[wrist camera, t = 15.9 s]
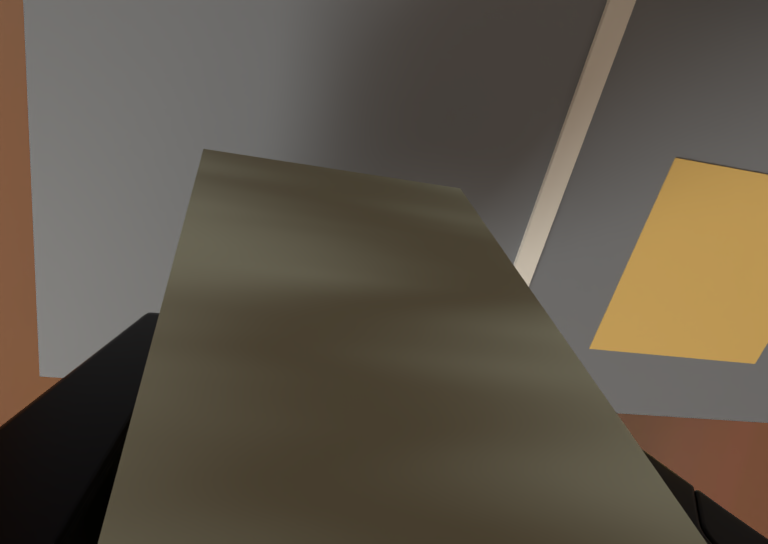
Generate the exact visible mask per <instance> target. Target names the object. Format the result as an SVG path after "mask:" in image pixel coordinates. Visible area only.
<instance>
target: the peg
mask: <svg viewBox="0 0 768 544" xmlns="http://www.w3.org/2000/svg"><path fill="white" fill-rule="evenodd" d="M98 544H707V543H706V541H705V540H704V538H703V537H702V535H701V534H700V532H699V531H698V530H697V528H696V527H695V525H694V524H693V522H692V521H691V520H690V518H689V517H688V515H687V514H686V512H685V511H684V509H683V508H682V507H681V505H680V504H679V502H678V501H677V499H676V498H675V497H674V495H673V494H672V492H671V491H670V489H669V488H668V486H667V485H666V484H665V482H664V481H663V479H662V478H661V476H660V475H659V474H658V472H657V471H656V469H655V468H654V466H653V465H652V463H651V462H650V461H649V459H648V458H647V456H646V455H645V453H644V452H643V451H642V449H641V448H640V446H639V445H638V443H637V442H636V440H635V439H634V438H633V436H632V435H631V433H630V432H629V430H628V429H627V428H626V426H625V425H624V423H623V422H622V420H621V419H620V417H619V416H618V415H617V413H616V412H615V410H614V409H613V407H612V406H611V405H610V403H609V402H608V400H607V399H606V397H605V396H604V394H603V393H602V392H601V390H600V389H599V387H598V386H597V384H596V383H595V382H594V380H593V379H592V377H591V376H590V374H589V373H588V371H587V370H586V369H585V367H584V366H583V364H582V363H581V361H580V360H579V359H578V357H577V356H576V354H575V353H574V351H573V350H572V348H571V347H570V346H569V344H568V343H567V341H566V340H565V338H564V337H563V336H562V334H561V333H560V331H559V330H558V328H557V327H556V325H555V324H554V323H553V321H552V320H551V318H550V317H549V315H548V314H547V313H546V311H545V310H544V308H543V307H542V305H541V304H540V302H539V301H538V300H537V298H536V297H535V295H534V294H533V292H532V291H531V290H530V288H529V287H528V285H527V284H526V282H525V281H524V279H523V278H522V277H521V275H520V274H519V272H518V271H517V269H516V268H515V267H514V265H513V264H512V262H511V261H510V259H509V258H508V256H507V255H506V254H505V252H504V251H503V249H502V248H501V246H500V245H499V244H498V242H497V241H496V239H495V238H494V236H493V235H492V233H491V232H490V231H489V229H488V228H487V226H486V225H485V223H484V222H483V221H482V219H481V218H480V216H479V215H478V213H477V212H476V210H475V209H474V208H473V206H472V205H471V203H470V202H469V200H468V199H467V198H466V196H465V195H464V193H463V192H462V190H461V189H460V188H455V187H448V186H442V185H435V184H429V183H422V182H416V181H409V180H403V179H396V178H390V177H383V176H377V175H370V174H364V173H357V172H351V171H344V170H338V169H331V168H325V167H319V166H312V165H306V164H299V163H293V162H286V161H280V160H273V159H267V158H260V157H254V156H247V155H241V154H234V153H228V152H221V151H215V150H208V149H203V152H202V156H201V160H200V164H199V167H198V171H197V175H196V179H195V182H194V186H193V190H192V193H191V197H190V201H189V205H188V208H187V212H186V216H185V220H184V223H183V227H182V231H181V235H180V238H179V242H178V246H177V249H176V253H175V257H174V261H173V264H172V268H171V272H170V276H169V279H168V283H167V287H166V291H165V294H164V298H163V302H162V305H161V309H160V313H159V317H158V320H157V324H156V328H155V332H154V335H153V339H152V343H151V347H150V350H149V354H148V358H147V361H146V365H145V369H144V373H143V376H142V380H141V384H140V388H139V391H138V395H137V399H136V403H135V406H134V410H133V414H132V417H131V421H130V425H129V429H128V432H127V436H126V440H125V444H124V447H123V451H122V455H121V459H120V462H119V466H118V470H117V473H116V477H115V481H114V485H113V488H112V492H111V496H110V500H109V503H108V507H107V511H106V515H105V518H104V522H103V526H102V529H101V533H100V537H99V541H98Z"/></svg>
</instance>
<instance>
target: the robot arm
mask: <svg viewBox="0 0 768 544" xmlns="http://www.w3.org/2000/svg"><path fill="white" fill-rule="evenodd" d="M158 317H159V313H153V312H149V313H147V314H145V315H143V316H142V317H141V318H140V319H138V320H137V321H136V322H134V323H133V324H132V325H131V326H129V327H128V328H127V329H125V330H124V331H123V332H122V333H120V334H119V335H118V336H116V337H115V338H114V339H113V340H111V341H110V342H109V343H107V344H106V345H105V346H104V347H102V348H101V349H100V350H98V351H97V352H96V353H95V354H93V355H92V356H91V357H89V358H88V359H87V360H86V361H84V362H83V363H82V364H80V365H79V366H78V367H77V368H75V369H74V370H73V371H71V372H70V373H69V374H68V375H66V376H65V377H64V378H62V379H61V380H60V381H59V382H57V383H56V384H55V385H53V386H52V387H51V388H50V389H48V390H47V391H46V392H44V393H43V394H42V395H41V396H39V397H38V398H37V399H35V400H34V401H33V402H32V403H30V404H29V405H28V406H26V407H25V408H24V409H23V410H21V411H20V412H19V413H17V414H16V415H15V416H14V417H12V418H11V419H10V420H8V421H7V422H6V423H5V424H3V425H2V426H1V427H0V544H98V541H99V537H100V533H101V529H102V526H103V522H104V518H105V515H106V511H107V507H108V503H109V500H110V496H111V492H112V488H113V485H114V481H115V477H116V473H117V470H118V466H119V462H120V459H121V455H122V451H123V447H124V444H125V440H126V436H127V432H128V429H129V425H130V421H131V417H132V414H133V410H134V406H135V403H136V399H137V395H138V391H139V388H140V384H141V380H142V376H143V373H144V369H145V365H146V361H147V358H148V354H149V350H150V347H151V343H152V339H153V335H154V332H155V328H156V324H157V320H158ZM642 451H643V452H644V453H645V455H646V456H647V458H648V459H649V461H650V462H651V463H652V465H653V466H654V468H655V469H656V471H657V472H658V474H659V475H660V476H661V478H662V479H663V481H664V482H665V484H666V485H667V486H668V488H669V489H670V491H671V492H672V494H673V495H674V497H675V498H676V499H677V501H678V502H679V504H680V505H681V507H682V508H683V509H684V511H685V512H686V514H687V515H688V517H689V518H690V520H691V521H692V522H693V524H694V525H695V527H696V528H697V530H698V531H699V532H700V534H701V535H702V537H703V538H704V540H705V541H706V543H707V544H768V539H767V538H765V537H764V536H762V535H761V534H759V533H758V532H757V531H755V530H754V529H752V528H751V527H749V526H748V525H747V524H745V523H744V522H742V521H741V520H739V519H738V518H737V517H735V516H734V515H732V514H731V513H729V512H728V511H727V510H725V509H724V508H722V507H721V506H720V505H718V504H717V503H716V502H714V501H713V500H711V499H710V498H709V497H707V496H706V495H705V494H703V493H702V492H701V491H699V490H696V491H694V488H693V486H692V485H691V484H689V483H688V482H686V481H685V480H684V479H682V478H681V477H680V476H678V475H677V474H675V473H674V472H673V471H671V470H670V469H669V468H667V467H666V466H664V465H663V464H662V463H660V462H659V461H657V460H656V459H655V458H653V457H652V456H651V455H649V454H648V453H646V452H645V451H644V450H642Z"/></svg>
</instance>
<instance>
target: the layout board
mask: <svg viewBox="0 0 768 544" xmlns="http://www.w3.org/2000/svg"><path fill="white" fill-rule="evenodd" d="M23 5H24V28H25V51H26V74H27V96H28V119H29V142H30V165H31V188H32V210H33V233H34V256H35V279H36V301H37V324H38V347H39V370H40V376H43V377H58V378H64V377H65V376H66V375H68V374H69V373H70V372H71V371H73V370H74V369H75V368H77V367H78V366H79V365H80V364H82V363H83V362H84V361H86V360H87V359H88V358H89V357H91V356H92V355H93V354H95V353H96V352H97V351H98V350H100V349H101V348H102V347H104V346H105V345H106V344H107V343H109V342H110V341H111V340H113V339H114V338H115V337H116V336H118V335H119V334H120V333H122V332H123V331H124V330H125V329H127V328H128V327H129V326H131V325H132V324H133V323H134V322H136V321H137V320H138V319H140V318H141V317H142V316H143V315H145V314H147V313H149V312H153V313H160V309H161V305H162V302H163V298H164V294H165V291H166V287H167V283H168V279H169V276H170V272H171V268H172V264H173V261H174V257H175V253H176V249H177V246H178V242H179V238H180V235H181V231H182V227H183V223H184V220H185V216H186V212H187V208H188V205H189V201H190V197H191V193H192V190H193V186H194V182H195V179H196V175H197V171H198V167H199V164H200V160H201V156H202V152H203V149H208V150H215V151H221V152H228V153H234V154H241V155H247V156H254V157H260V158H267V159H273V160H280V161H286V162H293V163H299V164H306V165H312V166H319V167H325V168H331V169H338V170H344V171H351V172H357V173H364V174H370V175H377V176H383V177H390V178H396V179H403V180H409V181H416V182H422V183H429V184H435V185H442V186H448V187H455V188H460V189H461V190H462V192H463V193H464V195H465V196H466V198H467V199H468V200H469V202H470V203H471V205H472V206H473V208H474V209H475V210H476V212H477V213H478V215H479V216H480V218H481V219H482V221H483V222H484V223H485V225H486V226H487V228H488V229H489V231H490V232H491V233H492V235H493V236H494V238H495V239H496V241H497V242H498V244H499V245H500V246H501V248H502V249H503V251H504V252H505V254H506V255H507V256H508V258H509V259H510V261H511V262H512V264H513V265H514V267H515V268H516V269H517V271H518V272H519V274H520V275H521V277H522V278H523V279H524V281H525V282H526V284H527V285H528V287H529V288H530V290H531V291H532V292H533V294H534V295H535V297H536V298H537V300H538V301H539V302H540V304H541V305H542V307H543V308H544V310H545V311H546V313H547V314H548V315H549V317H550V318H551V320H552V321H553V323H554V324H555V325H556V327H557V328H558V330H559V331H560V333H561V334H562V336H563V337H564V338H565V340H566V341H567V343H568V344H569V346H570V347H571V348H572V350H573V351H574V353H575V354H576V356H577V357H578V359H579V360H580V361H581V363H582V364H583V366H584V367H585V369H586V370H587V371H588V373H589V374H590V376H591V377H592V379H593V380H594V382H595V383H596V384H597V386H598V387H599V389H600V390H601V392H602V393H603V394H604V396H605V397H606V399H607V400H608V402H609V403H610V405H611V406H612V407H613V409H614V410H615V412H616V413H622V414H638V415H654V416H669V417H685V418H701V419H716V420H732V421H748V422H763V423H768V0H23Z"/></svg>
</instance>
